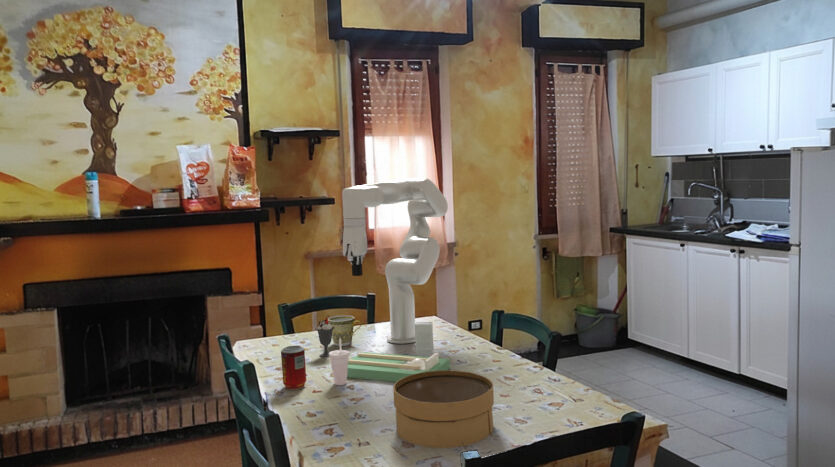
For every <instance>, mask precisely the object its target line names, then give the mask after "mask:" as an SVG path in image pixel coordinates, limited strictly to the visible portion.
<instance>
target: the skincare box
mask: <svg viewBox="0 0 835 467" xmlns="http://www.w3.org/2000/svg"><path fill="white" fill-rule="evenodd" d="M414 343H415V356H419V357H431V356H432V355H433V354H435V349H434V347H435V346H434V345H435V344H434V330H433V321H415V342H414Z"/></svg>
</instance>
